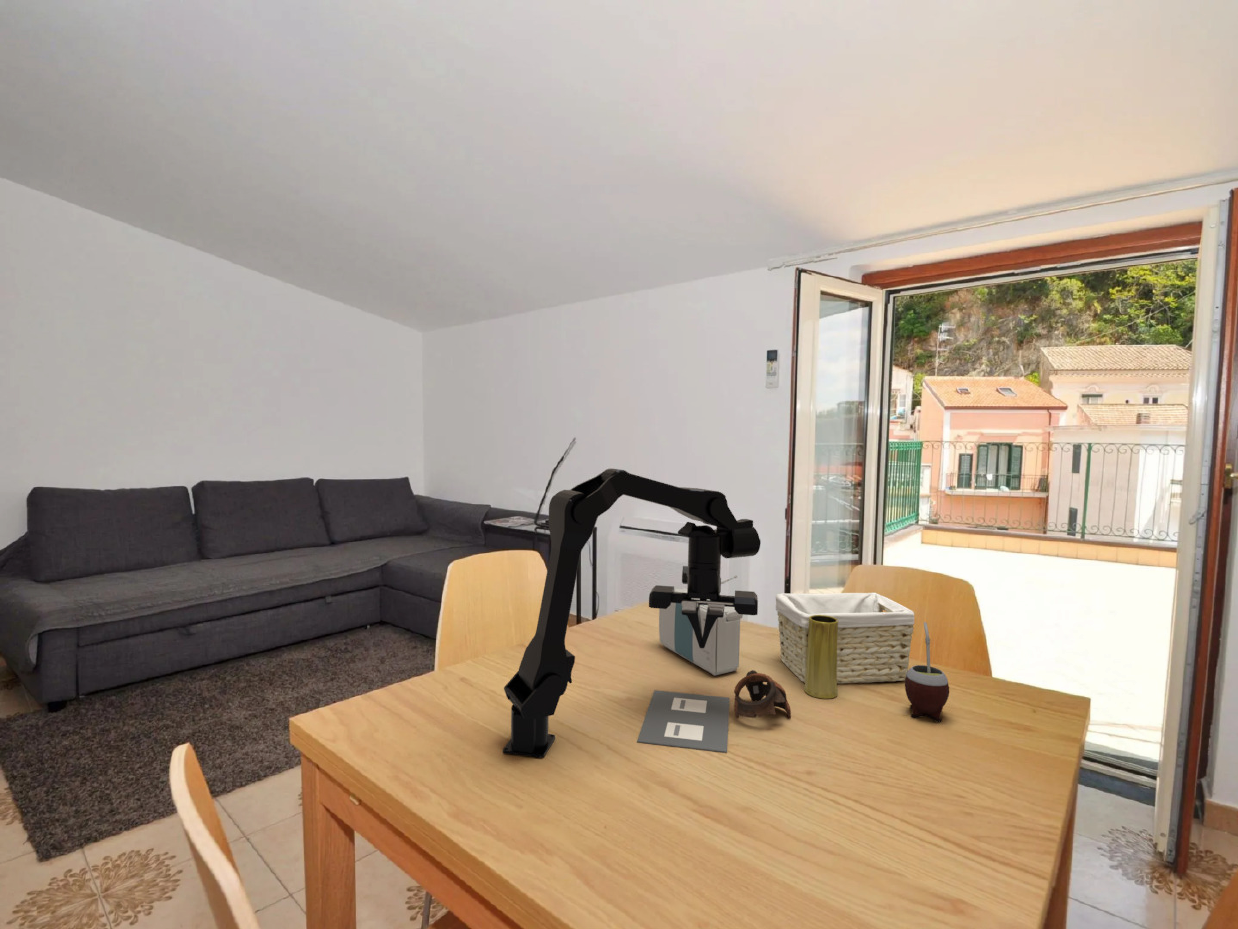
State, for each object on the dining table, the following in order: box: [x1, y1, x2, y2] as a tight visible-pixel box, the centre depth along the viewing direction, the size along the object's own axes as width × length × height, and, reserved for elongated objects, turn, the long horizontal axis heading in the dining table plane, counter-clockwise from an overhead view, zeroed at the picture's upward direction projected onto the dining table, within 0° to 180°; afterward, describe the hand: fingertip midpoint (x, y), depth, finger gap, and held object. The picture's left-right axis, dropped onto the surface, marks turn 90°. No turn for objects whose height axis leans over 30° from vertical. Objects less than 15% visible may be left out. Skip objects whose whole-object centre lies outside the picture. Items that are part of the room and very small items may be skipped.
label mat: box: [636, 689, 730, 754], centre depth 107 cm, size 20×14×1 cm
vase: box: [803, 615, 838, 700], centre depth 119 cm, size 6×6×14 cm
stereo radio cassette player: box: [658, 575, 744, 677], centre depth 135 cm, size 21×8×20 cm, turn 28°
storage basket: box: [775, 592, 915, 685], centre depth 130 cm, size 24×16×15 cm
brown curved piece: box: [733, 669, 792, 719], centre depth 109 cm, size 12×10×8 cm
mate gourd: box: [904, 621, 950, 724], centre depth 110 cm, size 8×8×15 cm
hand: (702, 647), depth 111 cm, fingers closed
